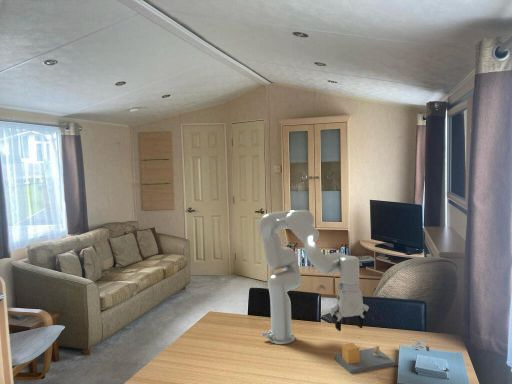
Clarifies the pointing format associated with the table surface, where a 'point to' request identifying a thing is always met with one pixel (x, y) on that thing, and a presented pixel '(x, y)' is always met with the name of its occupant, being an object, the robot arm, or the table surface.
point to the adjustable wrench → (420, 346)
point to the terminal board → (367, 360)
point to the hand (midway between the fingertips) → (349, 328)
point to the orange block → (350, 353)
